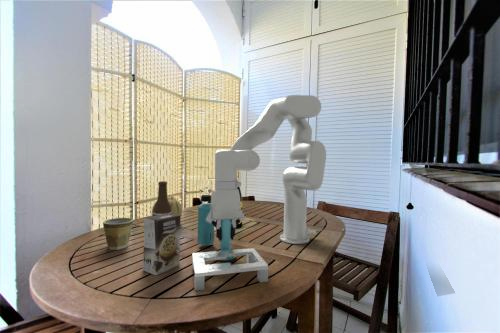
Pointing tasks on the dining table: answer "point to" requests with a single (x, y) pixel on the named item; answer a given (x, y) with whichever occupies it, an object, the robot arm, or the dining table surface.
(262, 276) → the keyhole plate
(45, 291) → the dining table surface
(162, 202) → the beer bottle
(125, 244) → the ceramic cup
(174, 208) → the cantaloupe
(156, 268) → the food box
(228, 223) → the flanged peg
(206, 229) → the beverage bottle
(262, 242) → the dining table surface
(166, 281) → the dining table surface
